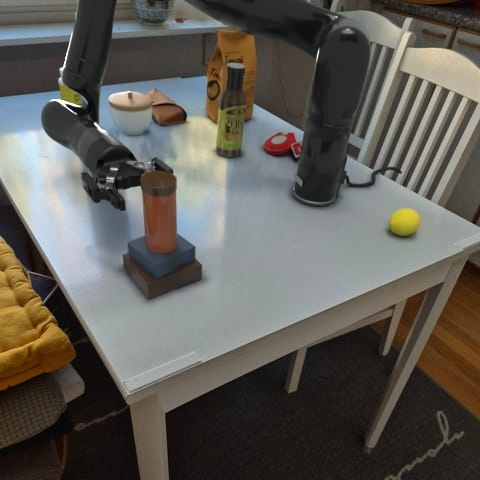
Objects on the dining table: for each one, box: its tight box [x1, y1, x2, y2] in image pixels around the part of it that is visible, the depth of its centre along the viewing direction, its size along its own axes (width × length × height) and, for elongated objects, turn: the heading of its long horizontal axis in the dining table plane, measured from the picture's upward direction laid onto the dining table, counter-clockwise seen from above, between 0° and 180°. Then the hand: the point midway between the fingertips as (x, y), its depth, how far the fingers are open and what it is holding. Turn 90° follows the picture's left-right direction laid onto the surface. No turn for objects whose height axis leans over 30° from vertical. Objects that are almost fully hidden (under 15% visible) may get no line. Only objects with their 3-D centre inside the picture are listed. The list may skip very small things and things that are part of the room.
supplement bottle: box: [58, 66, 81, 106], centre depth 125 cm, size 5×5×10 cm
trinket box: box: [107, 90, 153, 136], centre depth 118 cm, size 11×11×9 cm
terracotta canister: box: [140, 171, 178, 253], centre depth 72 cm, size 5×5×11 cm
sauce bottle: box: [215, 63, 246, 158], centre depth 109 cm, size 6×6×20 cm
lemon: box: [388, 207, 421, 236], centre depth 93 cm, size 7×5×5 cm
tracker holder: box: [263, 131, 302, 160], centre depth 118 cm, size 12×4×10 cm
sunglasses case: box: [145, 86, 188, 126], centre depth 130 cm, size 18×7×7 cm, turn 34°
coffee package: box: [205, 28, 258, 124], centre depth 125 cm, size 10×12×22 cm
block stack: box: [122, 232, 203, 300], centre depth 78 cm, size 10×9×6 cm
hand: (148, 199), depth 73 cm, fingers open, 8 cm apart
